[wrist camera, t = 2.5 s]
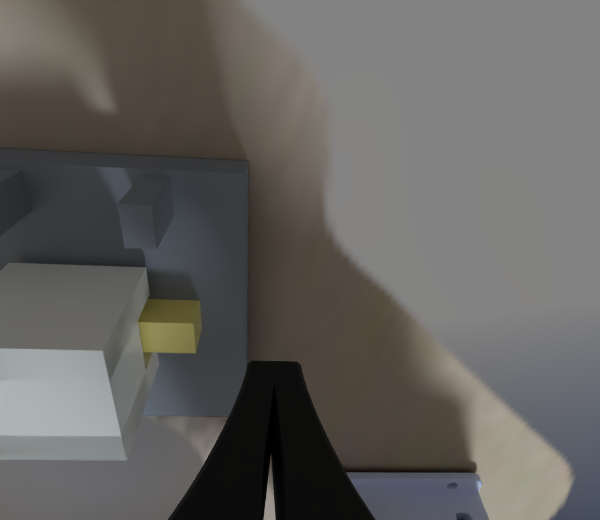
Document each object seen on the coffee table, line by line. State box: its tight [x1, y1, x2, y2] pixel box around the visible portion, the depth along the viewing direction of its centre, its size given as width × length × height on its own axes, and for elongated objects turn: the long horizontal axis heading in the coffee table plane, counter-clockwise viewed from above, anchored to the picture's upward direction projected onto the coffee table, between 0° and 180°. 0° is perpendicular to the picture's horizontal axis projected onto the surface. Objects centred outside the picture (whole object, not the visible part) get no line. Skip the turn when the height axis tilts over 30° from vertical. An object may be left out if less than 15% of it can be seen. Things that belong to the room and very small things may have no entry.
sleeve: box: [0, 263, 159, 460], centre depth 12 cm, size 4×4×4 cm
